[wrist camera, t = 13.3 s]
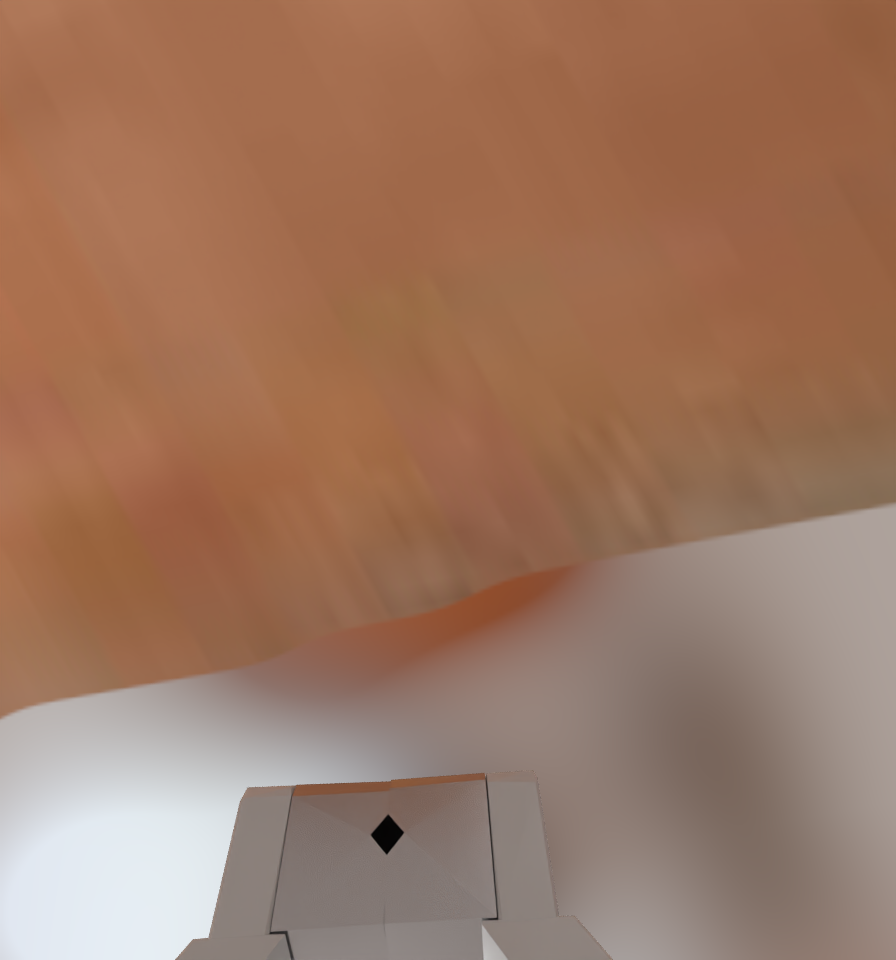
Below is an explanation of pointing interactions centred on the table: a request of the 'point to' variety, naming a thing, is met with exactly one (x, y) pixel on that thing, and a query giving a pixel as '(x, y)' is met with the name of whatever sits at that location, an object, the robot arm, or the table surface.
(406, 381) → the table surface
